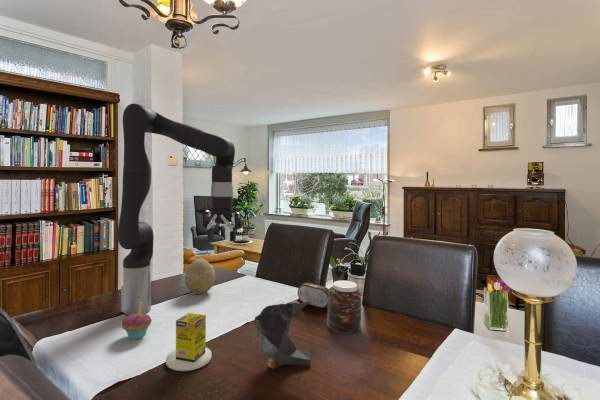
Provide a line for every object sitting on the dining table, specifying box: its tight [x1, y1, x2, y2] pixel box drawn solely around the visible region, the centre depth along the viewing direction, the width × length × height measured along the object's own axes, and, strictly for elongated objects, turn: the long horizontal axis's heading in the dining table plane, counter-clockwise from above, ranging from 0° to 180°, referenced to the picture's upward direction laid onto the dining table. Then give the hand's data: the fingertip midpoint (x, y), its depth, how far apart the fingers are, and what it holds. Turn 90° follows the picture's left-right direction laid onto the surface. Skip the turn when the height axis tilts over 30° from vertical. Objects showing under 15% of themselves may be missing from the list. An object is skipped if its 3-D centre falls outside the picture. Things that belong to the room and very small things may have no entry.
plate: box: [165, 347, 213, 372], centre depth 95 cm, size 12×12×1 cm
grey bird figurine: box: [253, 299, 312, 370], centre depth 94 cm, size 14×15×18 cm
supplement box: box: [175, 312, 207, 362], centre depth 94 cm, size 6×6×11 cm
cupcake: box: [120, 300, 152, 340], centre depth 108 cm, size 9×8×12 cm
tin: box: [297, 282, 329, 309], centre depth 137 cm, size 15×3×8 cm, turn 58°
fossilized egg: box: [184, 258, 216, 295], centre depth 148 cm, size 13×13×15 cm
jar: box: [326, 279, 363, 335], centre depth 118 cm, size 12×12×15 cm
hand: (221, 240), depth 122 cm, fingers open, 8 cm apart
